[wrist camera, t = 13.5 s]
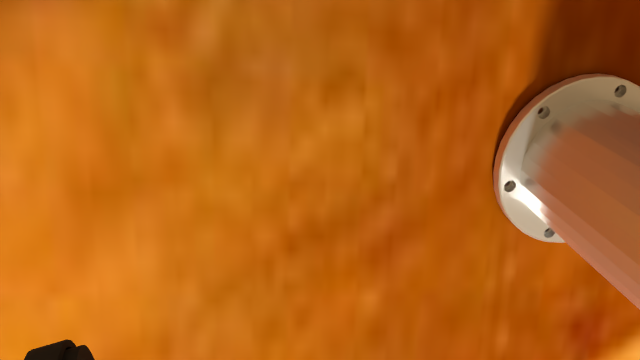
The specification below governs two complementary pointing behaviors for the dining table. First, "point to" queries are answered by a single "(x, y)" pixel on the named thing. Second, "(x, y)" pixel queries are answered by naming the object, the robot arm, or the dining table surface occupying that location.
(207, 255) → the dining table surface
